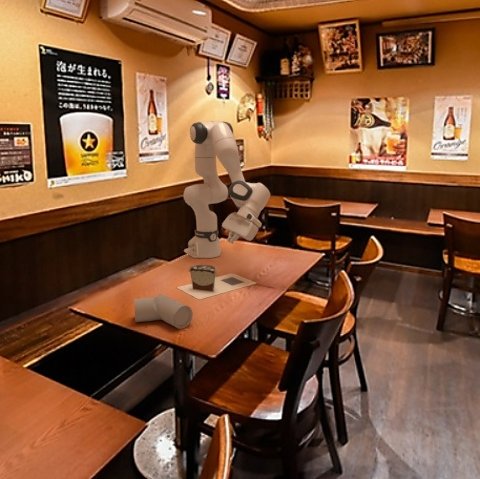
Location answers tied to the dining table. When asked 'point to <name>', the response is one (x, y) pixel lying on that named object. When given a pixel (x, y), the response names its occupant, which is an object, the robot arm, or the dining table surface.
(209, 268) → the food container
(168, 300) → the l-shaped cylinder
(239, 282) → the board
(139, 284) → the dining table surface
